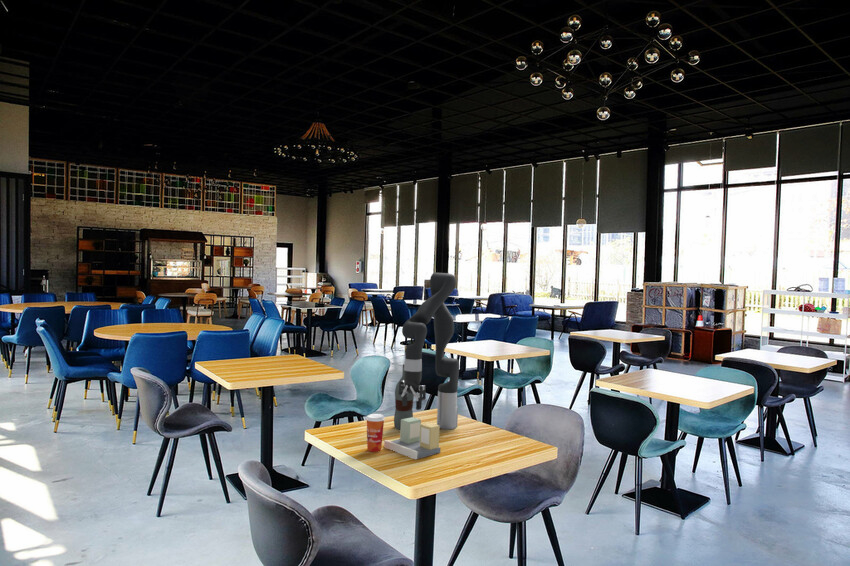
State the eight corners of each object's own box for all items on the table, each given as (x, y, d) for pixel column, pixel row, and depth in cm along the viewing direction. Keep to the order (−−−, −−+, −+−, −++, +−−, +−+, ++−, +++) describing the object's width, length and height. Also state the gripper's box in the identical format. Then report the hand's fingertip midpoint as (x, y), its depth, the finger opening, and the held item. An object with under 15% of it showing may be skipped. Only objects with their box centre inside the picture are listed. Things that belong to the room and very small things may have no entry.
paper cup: (361, 451, 218) (362, 416, 218) (369, 446, 225) (371, 412, 225) (379, 454, 215) (380, 419, 215) (387, 448, 222) (388, 414, 222)
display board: (408, 441, 234) (409, 434, 234) (440, 452, 220) (440, 445, 220) (384, 447, 224) (384, 440, 224) (415, 459, 210) (415, 451, 210)
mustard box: (428, 444, 224) (429, 422, 224) (438, 447, 220) (439, 425, 220) (419, 446, 221) (420, 424, 221) (429, 450, 216) (430, 427, 216)
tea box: (400, 440, 227) (400, 419, 227) (412, 437, 232) (412, 417, 232) (408, 443, 224) (409, 422, 224) (420, 440, 228) (421, 419, 228)
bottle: (417, 428, 254) (419, 365, 254) (403, 432, 248) (406, 367, 248) (402, 424, 261) (405, 362, 261) (389, 427, 254) (391, 364, 254)
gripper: (431, 371, 225) (429, 409, 225) (408, 366, 236) (406, 403, 236) (418, 372, 220) (416, 412, 220) (395, 367, 230) (393, 405, 230)
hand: (411, 407), depth 228 cm, fingers open, 8 cm apart
